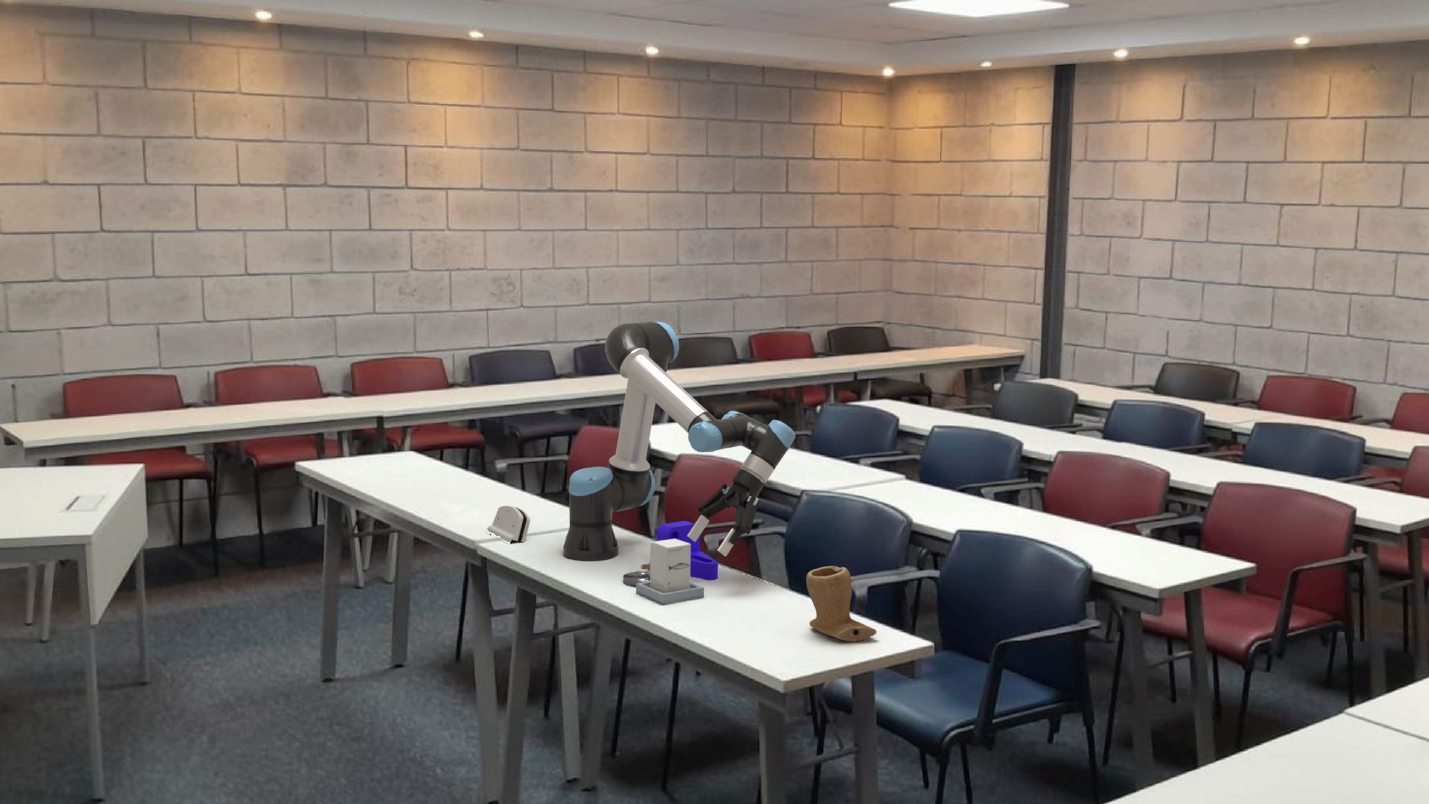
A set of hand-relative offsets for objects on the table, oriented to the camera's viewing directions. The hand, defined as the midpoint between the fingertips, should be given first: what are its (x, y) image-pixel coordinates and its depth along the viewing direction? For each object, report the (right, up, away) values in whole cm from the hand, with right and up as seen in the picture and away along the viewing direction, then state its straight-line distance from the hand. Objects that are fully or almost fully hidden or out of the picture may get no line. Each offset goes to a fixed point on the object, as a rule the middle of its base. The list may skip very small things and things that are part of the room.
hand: (706, 546), depth 321 cm
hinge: (-57, -4, +53) cm, 78 cm away
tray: (-9, -11, -6) cm, 16 cm away
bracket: (-3, -9, +16) cm, 18 cm away
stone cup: (+29, -16, -35) cm, 49 cm away
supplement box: (-9, -11, -6) cm, 15 cm away
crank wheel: (-16, -10, +6) cm, 20 cm away
